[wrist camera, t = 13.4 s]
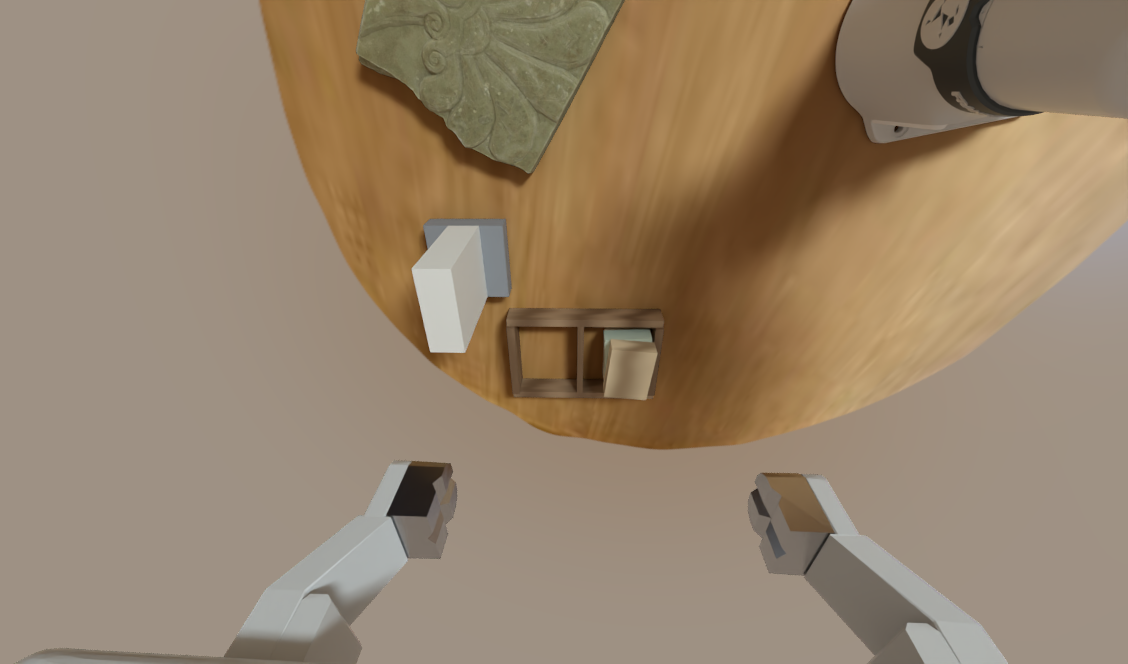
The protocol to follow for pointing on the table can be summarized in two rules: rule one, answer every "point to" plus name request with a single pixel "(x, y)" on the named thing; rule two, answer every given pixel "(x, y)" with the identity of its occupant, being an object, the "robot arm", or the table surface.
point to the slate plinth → (492, 249)
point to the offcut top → (629, 369)
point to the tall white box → (451, 288)
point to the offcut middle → (624, 338)
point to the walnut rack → (580, 320)
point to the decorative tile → (489, 64)
